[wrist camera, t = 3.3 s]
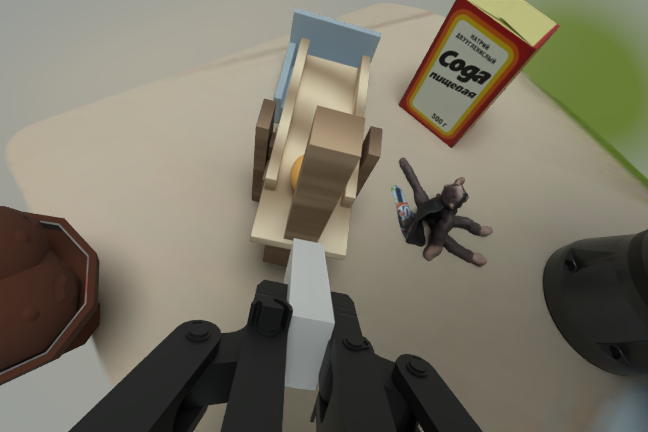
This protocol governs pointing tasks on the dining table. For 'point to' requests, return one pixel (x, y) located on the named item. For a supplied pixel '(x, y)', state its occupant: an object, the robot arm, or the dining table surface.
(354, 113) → the lever
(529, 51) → the baking soda box
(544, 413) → the dining table surface
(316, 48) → the bin
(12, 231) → the ice cream bowl
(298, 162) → the ball
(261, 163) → the stand
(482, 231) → the stuffed animal
